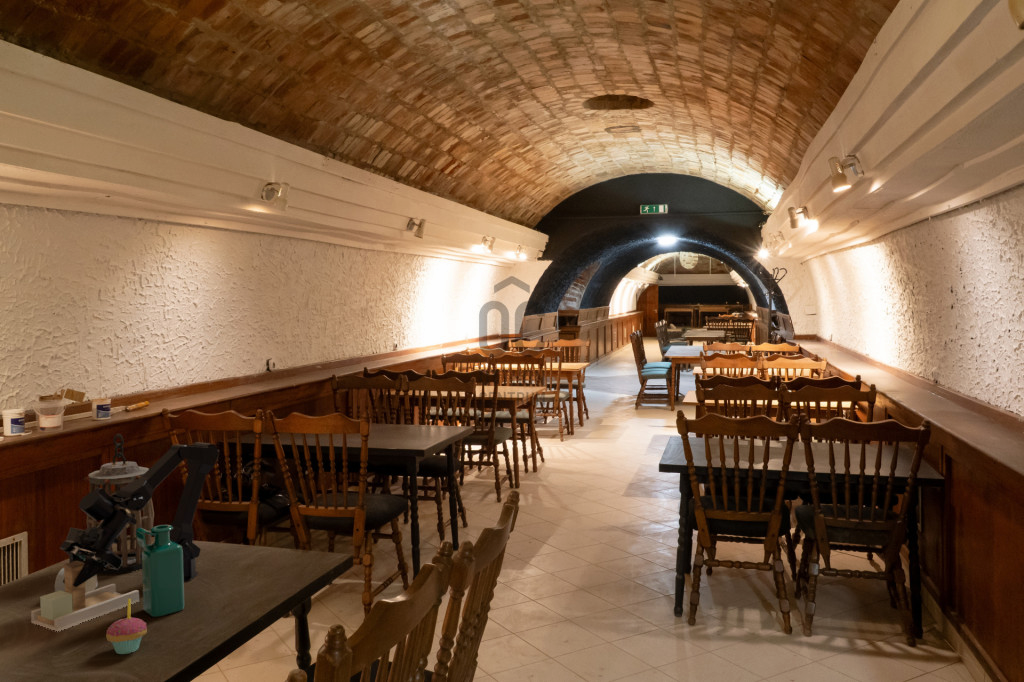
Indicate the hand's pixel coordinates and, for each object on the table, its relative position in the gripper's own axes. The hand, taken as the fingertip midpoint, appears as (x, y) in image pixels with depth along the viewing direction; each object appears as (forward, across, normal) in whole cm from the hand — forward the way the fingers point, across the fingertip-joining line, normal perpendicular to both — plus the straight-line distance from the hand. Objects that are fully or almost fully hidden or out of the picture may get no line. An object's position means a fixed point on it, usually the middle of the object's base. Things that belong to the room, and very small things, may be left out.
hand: (69, 584), depth 203 cm
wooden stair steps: (+3, 0, +8) cm, 8 cm away
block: (+7, 0, +2) cm, 7 cm away
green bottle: (-4, +16, +16) cm, 23 cm away
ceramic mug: (-2, -14, +14) cm, 20 cm away
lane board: (+3, 0, +9) cm, 10 cm away
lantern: (-16, -25, +28) cm, 41 cm away
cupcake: (+9, +29, +3) cm, 31 cm away
